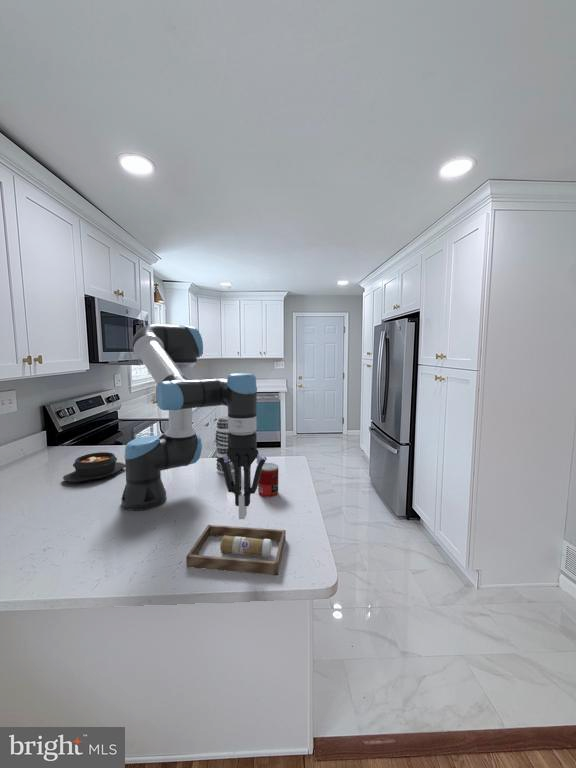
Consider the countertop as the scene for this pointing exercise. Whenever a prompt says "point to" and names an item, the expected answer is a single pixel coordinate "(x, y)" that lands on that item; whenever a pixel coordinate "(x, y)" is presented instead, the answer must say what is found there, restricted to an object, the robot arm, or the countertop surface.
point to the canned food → (268, 480)
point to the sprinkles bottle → (246, 546)
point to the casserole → (94, 467)
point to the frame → (236, 563)
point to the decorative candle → (222, 442)
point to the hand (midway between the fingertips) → (242, 516)
